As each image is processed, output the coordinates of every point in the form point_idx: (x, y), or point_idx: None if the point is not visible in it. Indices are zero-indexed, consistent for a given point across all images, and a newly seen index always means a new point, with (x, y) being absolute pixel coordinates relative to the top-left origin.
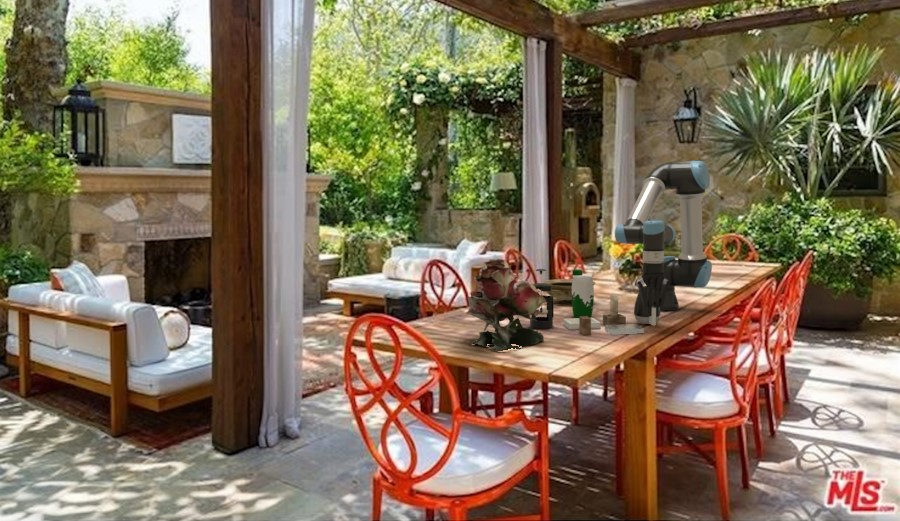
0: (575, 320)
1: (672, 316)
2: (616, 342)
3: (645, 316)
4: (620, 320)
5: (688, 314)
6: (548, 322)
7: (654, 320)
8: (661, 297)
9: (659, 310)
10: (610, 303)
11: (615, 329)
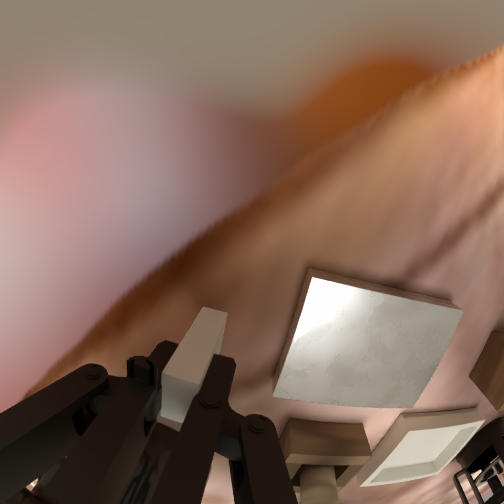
0: (413, 472)
1: None
2: (501, 163)
3: None
4: (316, 443)
5: None
6: (498, 433)
7: (205, 321)
8: (61, 421)
9: None
10: None
11: (451, 311)
